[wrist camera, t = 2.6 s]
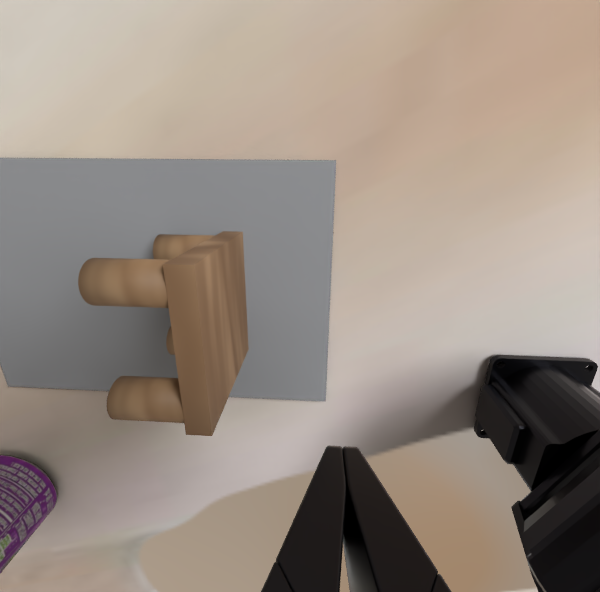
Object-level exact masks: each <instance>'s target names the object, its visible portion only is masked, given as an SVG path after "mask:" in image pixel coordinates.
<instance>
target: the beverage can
mask: <svg viewBox="0 0 600 592" xmlns="http://www.w3.org/2000/svg"><path fill="white" fill-rule="evenodd" d="M56 500H57V494H56V490H55V488H54V485H53V484H52V482H51V481H50V479H49V478H48V476H47V475H46V474H45V472H44V471H43V470H42V469H40V468H39V467H38V466H36V465H35V464H33V463H31V462H29V461H26V460H22V459H19V458H16V457H11V456H4V455H0V573H1V572H2V571H3V570H4V568H5V567H6V566H7V565H8V563H9V562H10V561H11V560H12V558H13V557H14V556H15V555H16V554H17V552H18V551H19V550H20V549H21V547H22V546H23V545H24V544H25V542H26V541H27V540H28V539H29V538H30V536H31V535H32V534H33V533H34V531H35V530H36V529H37V528H38V526H39V525H40V524H41V523H42V522H43V520H44V519H45V518H46V517H47V515H48V514H49V513H50V512H51V510H52V509H53V508H54V506H55V504H56Z"/></svg>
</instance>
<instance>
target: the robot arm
mask: <svg viewBox="0 0 600 592" xmlns="http://www.w3.org/2000/svg"><path fill="white" fill-rule="evenodd" d="M499 362H501V364H499V365H497V363H499ZM588 365H589V366H588ZM586 366H588V367H587V368H586ZM597 368H598V366H597V364H596V363H595V362H593V361H592V360H590V359H586V358H561V357H535V356H509V355H496V356H494V357H493V358H492V359H491V360H490V363H489V367H488V372H487V376H486V380H485V384H484V385H483V386H482V389H481V393H480V397H479V402H478V406H477V410H476V414H475V416H476V422H475V426H474V431H475V432H476V434H477V436H478V437H481V438H490V439H491V441H492V442H493V444H494V446H495V447H496V449H497V450H498V452H499V453H500V455H501V457H502V458H503V460H504V461H505V462H506V463H507V464H513V465H514V466H515V468H516V469H517V471H518V472H519V474H520V475H521V477H522V478H523V480H524V481H525V483H526V484H527V486H528V487H529V489H530V490H531V492H530V493H529V494H528V495H527V496H526V497H525V498H524V499H523V500H522V501H517V502H516V503H515V504H514V505H513V506H512V511H513V514H514V518H515V521H516V524H517V527H518V531H519V534H520V538H521V541H522V544H523V548H524V551H525V554H526V558H527V561H528V565H529V568H530V571H531V574H532V577H533V579H534V582H535V584H536V586H537V589H538V592H600V392H598V391H597V390H596V389H594V388H593V387H592V386H591V385H592V382H593V379H594V377H595V374H596V371H597ZM481 430H483V431H481ZM343 544H344V553H345V560H346V568H347V575H348V582H349V589H350V592H451V590H450V589H449V587H448V586H447V584H446V583H445V581H444V579H443V578H442V576H441V575H440V574H438V571H437V569H436V567H435V566H434V564H433V563H432V561H431V560H430V558H429V556H428V555H427V553H426V552H425V550H424V549H423V547H422V546H421V544H420V543H419V541H418V539H417V538H416V536H415V535H414V533H413V532H412V530H411V529H410V527H409V526H408V524H407V522H406V521H405V519H404V518H403V516H402V515H401V513H400V512H399V510H398V509H397V507H396V505H395V504H394V503H393V501H392V499H391V498H390V496H389V495H388V493H387V492H386V490H385V488H384V487H383V485H382V484H381V482H380V481H379V479H378V478H377V476H376V475H375V473H374V471H373V470H372V468H371V467H370V465H369V464H368V462H367V461H366V459H365V457H364V456H363V454H362V453H361V451H360V450H359V449H358V448H357V447H343V449H342V447H340V446H327V447H326V449H325V451H324V453H323V456H322V458H321V460H320V462H319V465H318V467H317V469H316V471H315V473H314V476H313V478H312V480H311V483H310V485H309V487H308V489H307V491H306V494H305V496H304V498H303V500H302V503H301V505H300V507H299V509H298V511H297V514H296V516H295V518H294V520H293V523H292V525H291V527H290V529H289V532H288V534H287V536H286V538H285V541H284V543H283V545H282V548H281V549H280V552H279V554H278V556H277V558H276V562H275V563H274V565H273V567H272V569H271V571H270V573H269V576H268V578H267V580H266V582H265V584H264V587H263V589H262V591H261V592H339V590H340V589H339V588H340V576H341V561H342V548H343ZM437 574H438V575H437Z"/></svg>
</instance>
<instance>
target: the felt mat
mask: <svg viewBox="0 0 600 592" xmlns="http://www.w3.org/2000/svg"><path fill="white" fill-rule="evenodd" d="M335 175H336V160H219V159H89V158H0V365H1V368H2V370H3V373H4V376H5V379H6V382H7V385H8V386H12V387H33V388H53V389H74V390H95V391H110V388H111V386H112V385H113V383H114V382H115V380H116V379H117V378H119V377H120V376H141V377H164V378H178V373H177V365H176V358H175V355H171V354H169V352H168V350H167V346H166V338H167V333H168V330H169V328H170V326H171V322H170V314H169V308H151V307H121V306H93V305H90V304H88V303H86V302H85V301H84V299H83V298H82V296H81V294H80V291H79V287H78V277H79V272H80V269H81V267H82V265H83V264H84V263H85V262H86V261H87V260H88V259H91V258H124V259H154V257H153V244H154V240H155V238H156V236H157V235H159V234H172V235H217V234H219V233H221V232H223V231H235V232H243V246H244V266H245V286H246V307H247V327H248V347H249V350H248V352H247V354H246V357H245V359H244V361H243V364H242V366H241V368H240V371H239V373H238V375H237V378H236V380H235V383H234V385H233V387H232V390H231V392H230V394H229V397H242V398H263V399H283V400H304V401H326V379H327V356H328V333H329V311H330V288H331V265H332V243H333V220H334V197H335Z"/></svg>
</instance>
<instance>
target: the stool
mask: <svg viewBox="0 0 600 592" xmlns="http://www.w3.org/2000/svg"><path fill="white" fill-rule="evenodd" d="M153 257H154V259H124V258H91V259H88V260H87V261H86V262H85V263H84V264H83V265H82V267H81V269H80V272H79V277H78V287H79V291H80V294H81V296H82V298H83V299H84V301H85V302H86V303H88V304H90V305H93V306H121V307H151V308H169V314H170V322H171V326H170V328H169V330H168V333H167V338H166V346H167V350H168V352H169V354H171V355H175V358H176V365H177V373H178V378H164V377H141V376H120V377H119V378H117V379H116V380H115V382H114V383H113V385H112V386H111V388H110V391H109V394H108V398H107V411H108V414H109V416H110V417H111V418H112V419H118V420H137V421H156V422H175V423H184V424H185V431H186V435H202V436H212V434H213V432H214V430H215V427H216V425H217V423H218V420H219V418H220V416H221V413H222V411H223V409H224V406H225V404H226V401H227V399H228V397H229V394H230V392H231V390H232V387H233V385H234V383H235V380H236V378H237V375H238V373H239V371H240V368H241V366H242V364H243V361H244V359H245V357H246V354H247V352H248V350H249V347H248V327H247V307H246V286H245V266H244V246H243V232H235V231H223V232H221V233H219V234H217V235H172V234H159V235H157V236H156V238H155V240H154V244H153Z"/></svg>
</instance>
